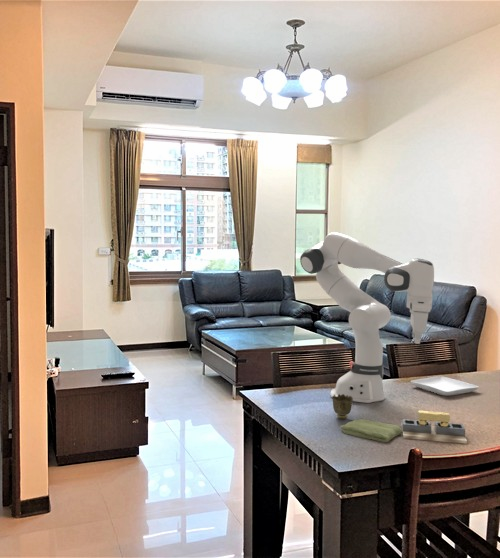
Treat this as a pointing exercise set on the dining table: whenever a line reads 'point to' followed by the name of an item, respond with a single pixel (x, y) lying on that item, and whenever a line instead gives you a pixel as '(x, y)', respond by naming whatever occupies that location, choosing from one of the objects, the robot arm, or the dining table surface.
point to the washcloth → (371, 430)
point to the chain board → (434, 436)
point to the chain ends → (450, 430)
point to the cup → (342, 405)
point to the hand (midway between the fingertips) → (416, 340)
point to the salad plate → (444, 385)
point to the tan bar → (433, 417)
